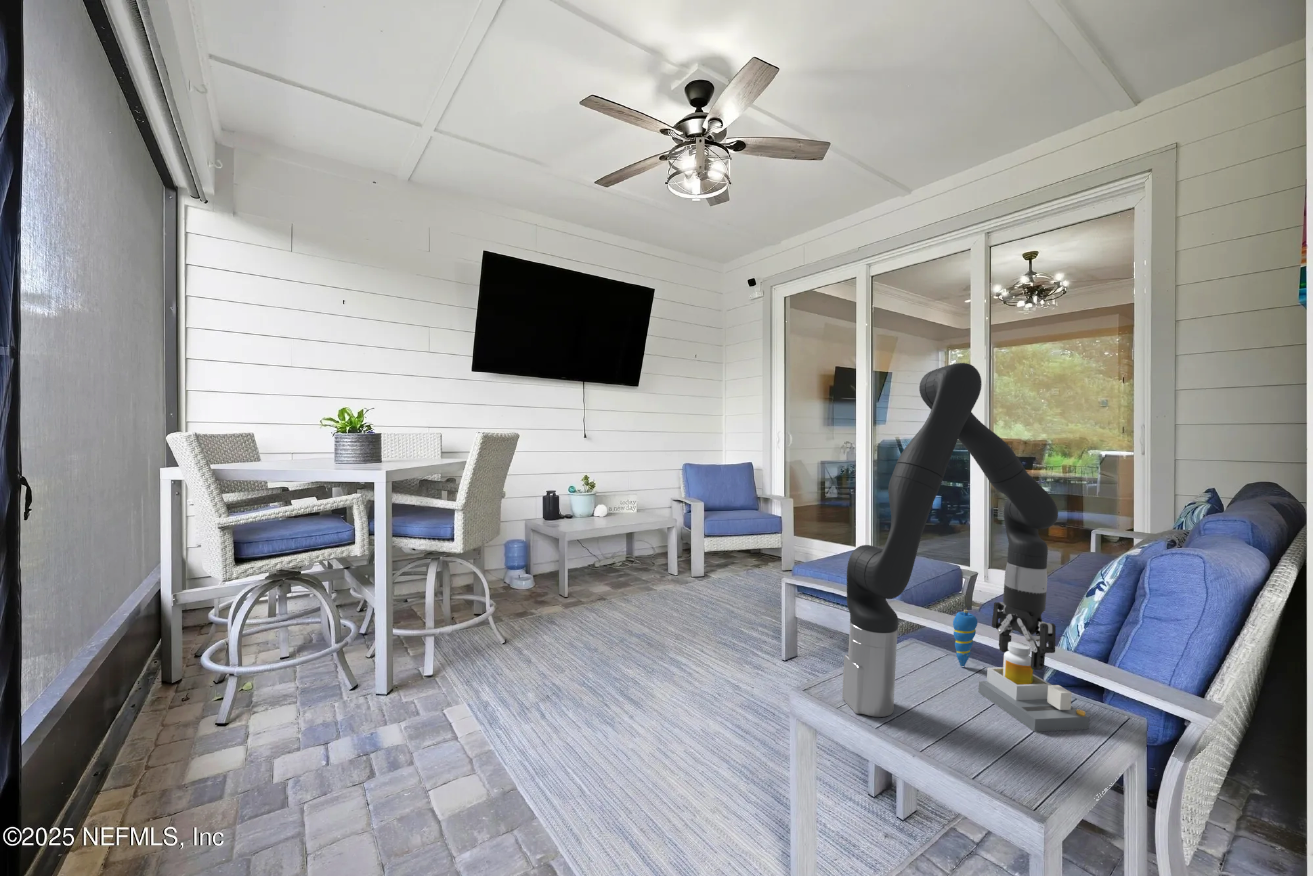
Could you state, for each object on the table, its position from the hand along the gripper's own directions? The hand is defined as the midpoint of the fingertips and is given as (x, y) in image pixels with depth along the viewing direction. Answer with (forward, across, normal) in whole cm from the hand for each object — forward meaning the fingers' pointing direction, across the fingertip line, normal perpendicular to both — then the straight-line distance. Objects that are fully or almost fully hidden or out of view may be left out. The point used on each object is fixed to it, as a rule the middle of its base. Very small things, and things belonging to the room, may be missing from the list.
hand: (1020, 659), depth 115 cm
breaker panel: (+9, -3, 0) cm, 10 cm away
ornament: (+9, +16, +1) cm, 18 cm away
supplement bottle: (+7, 0, 0) cm, 7 cm away
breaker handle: (+6, -7, -3) cm, 10 cm away
